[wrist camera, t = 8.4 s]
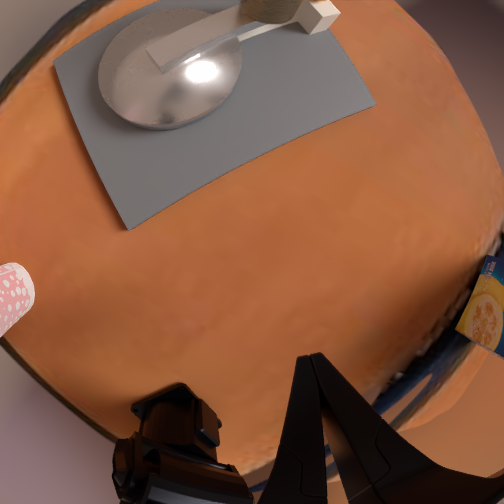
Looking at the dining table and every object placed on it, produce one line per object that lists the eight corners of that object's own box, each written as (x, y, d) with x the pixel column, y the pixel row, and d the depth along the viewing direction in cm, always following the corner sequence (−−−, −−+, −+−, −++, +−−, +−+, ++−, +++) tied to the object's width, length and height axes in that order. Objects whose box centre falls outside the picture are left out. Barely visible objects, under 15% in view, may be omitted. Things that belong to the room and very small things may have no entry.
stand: (132, 229, 19) (103, 241, 13) (57, 65, 15) (25, 35, 9) (370, 107, 20) (415, 87, 14) (275, -25, 16) (292, -63, 10)
